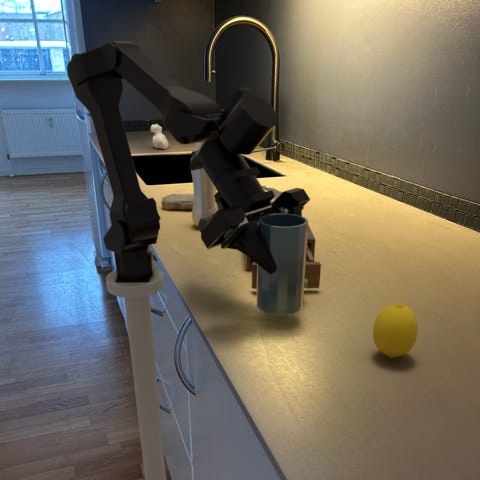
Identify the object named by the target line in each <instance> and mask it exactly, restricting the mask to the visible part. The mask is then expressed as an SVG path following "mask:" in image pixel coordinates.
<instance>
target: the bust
mask: <svg viewBox="0 0 480 480" xmlns="http://www.w3.org/2000/svg"><path fill="white" fill-rule="evenodd" d="M150 132H151V133H154V134H153V137H152V145H153V147H154V148H155V149H158V150H159V149H160V150H167V149H168V148H169V141H168V139H167V137H166V136H165V134H163V133H162V132H163V127H162V126H160V124H158V123H155V124H152V125H150Z"/></svg>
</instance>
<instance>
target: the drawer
mask: <svg viewBox="0 0 480 480" xmlns="http://www.w3.org/2000/svg"><path fill="white" fill-rule="evenodd" d="M321 270H322V263H321V261H315V257H314V258H313V256H312V254H311V251H310V249H309V246H308V244H307V249H306V264H305V279H304V289H320V283H321ZM251 289H253V290H254V289H255V290H257V264H256V263H255V262H254V261H253V262H252V271H251Z"/></svg>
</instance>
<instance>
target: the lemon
mask: <svg viewBox="0 0 480 480" xmlns="http://www.w3.org/2000/svg"><path fill="white" fill-rule="evenodd" d="M418 332H419V326H418V319H417V316H416V314H415V313H414V312H413V310H412V309H410V307H408V306H406V305H404V304H403V303H401V302H397V303H393V304H389V305H386V306H385V307H383V308H382V309H381V310H380V311H379V313H377V316H376V317H375V320H374V323H373V327H372V339H373V343H374V345H375V347H376V348H377V350H378V351H379V352H380V353H382V354H383V355H385V356H387V357H388V358H389V359H394V358H395V357H396V358H397V357H401V356H404V355H406V354H407V353H409V352H410V351H411V350H412V349H413V347H414V346H415V344H416V341H417V338H418Z"/></svg>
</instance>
